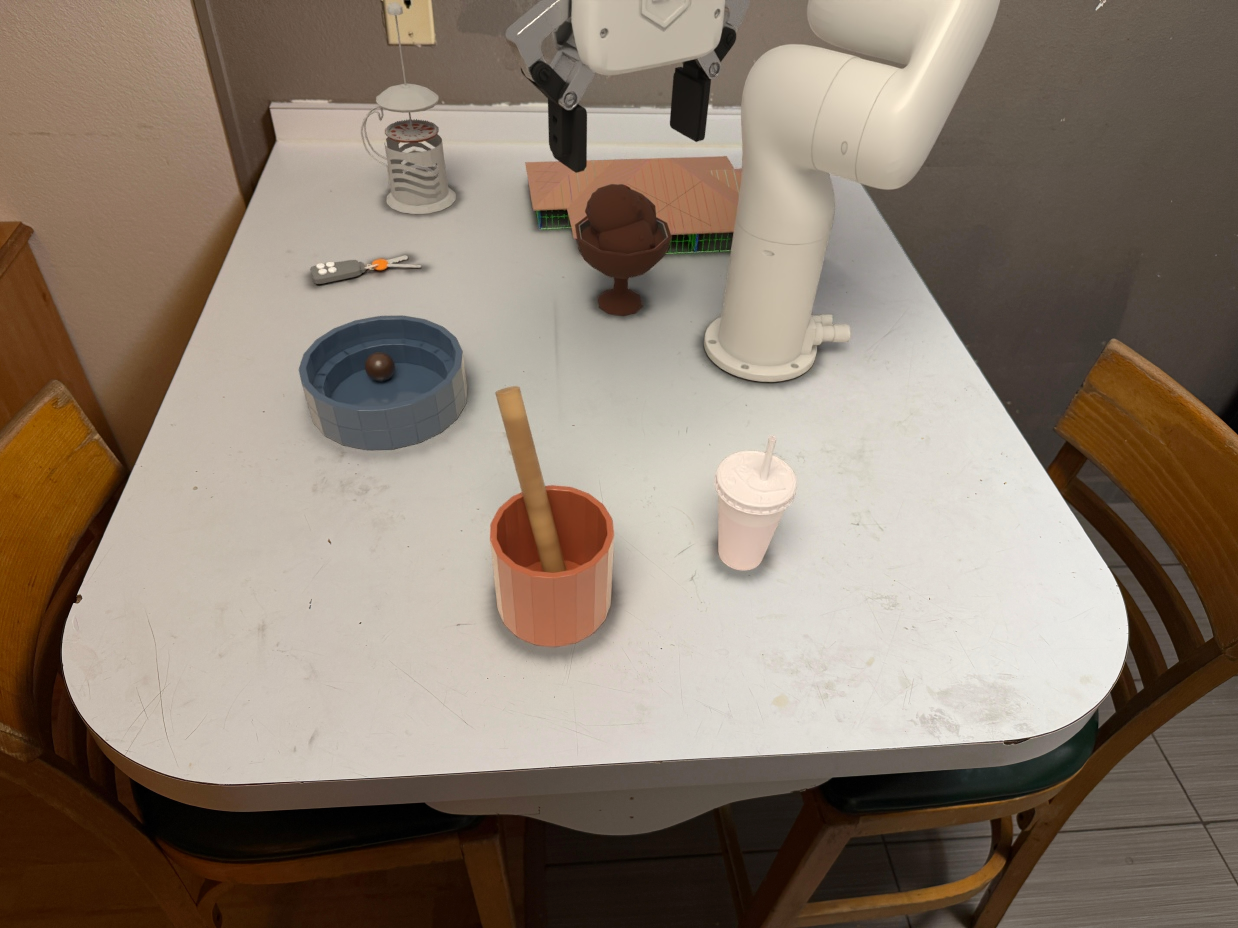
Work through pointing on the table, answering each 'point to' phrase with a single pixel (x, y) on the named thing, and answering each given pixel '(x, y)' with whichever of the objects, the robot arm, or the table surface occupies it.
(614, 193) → the ice cream bowl
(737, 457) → the smoothie
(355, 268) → the key chain
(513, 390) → the stirring stick
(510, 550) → the utensil pot
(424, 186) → the french press
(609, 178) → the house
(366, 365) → the bead
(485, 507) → the table surface
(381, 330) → the mixing bowl
